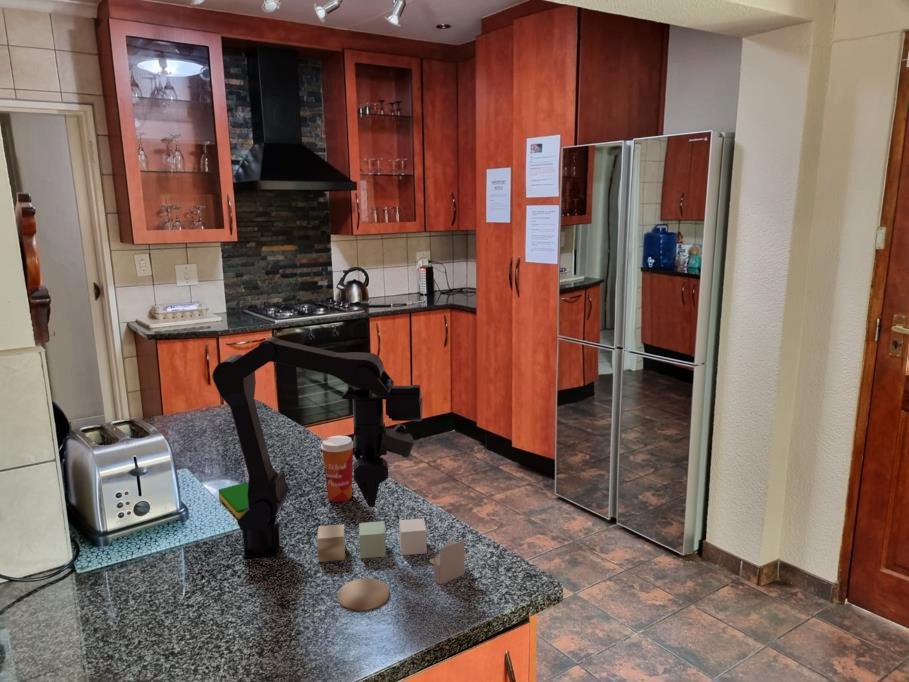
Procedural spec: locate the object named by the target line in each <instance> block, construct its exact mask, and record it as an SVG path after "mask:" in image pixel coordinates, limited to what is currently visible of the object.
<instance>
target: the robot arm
mask: <svg viewBox="0 0 909 682" xmlns="http://www.w3.org/2000/svg"><path fill="white" fill-rule="evenodd" d="M268 363H277V364H280V365H281V364H282V365H285V366H290V367H294V368H298V369H299V368H300V369H303V370H307V371H313V372H316V373H320V374H325V375H329V376H332V377H335V378H336V379H338V380H340V381H341V382H343V383H344V384H347V385H349V387H348V388H347V389H346V390H345V391H344V392H343V394H342V395H341V399H342V400H352V414H353V415H352V416H353V417H352V419H353V421H352V422H353V437H352V439H353V440H352V441H353V456H354V457H355V460H356V461H355V462H353V481H354V482H355V484H356V485H357V486H358V489H359V491H360V492H361V495H362V497H363V498H364V500H365V502H366V504H367V506H368V507H369V508H375V506H376V501H377V495H378V493H379V487H380V485H381V483H383V482H385V481H386V480H388V479H389V466H388V461H387V460H386V459H384V457H382V456H387V455H388V452H389V453H392V454H396V455H399V456H401V457H403V458H410V455H411V453H412V449H413V447H414V444H415V439H414V437H413V436H412V435H411V433H407V428H406V425H404V424H402V423H398V424H397V425H396V426H394V427H393V428H387V427H386V422H385V421H384V417H385V416H388V419H391V421H392V422H421V421H422V419H423V411H424V410H423V408H424V407H423V405H424V403H423V398H422V390H421V384H411V385H395V382H394V380H393V379H392V377H390V375H389V374H388V373H387V372H386V370H385V366H384V362H383V360H382V359H381V358H380V356H379V355H377V354H376V353H374V352H373V353H372V352H362V351H361V352H360V351H359V352H357V351H354V352H351V351H350V352H349V351H348V352H336V351H332V350H327V349H322V348H318V347H313V346H309V345H305V344H301V343H297V342H291V341H287V340H282V339H280V338H277V337H275V336H271V337H268V338H265V339H264V340H263V341H261V342H260V343H259V344H258V345H257V346H256V347H254V348H252V349H251V350H249V351H247V352H246V353H245V354H240V353H239V354H234V355H231V356H229V357H228V358H226V359H225V360H223V361H221V362H220V363H219V364H217V365H216V366H215V367H214V370H212V381H213V383H214V386H215V388H216V390H217V392H218V394H219V396H220V397H221V399H222V400H223V401H224V402H225V403H226V404H227V406H228V407H229V409H230V411H231V415H232V419H233V423H234V427H235V430H236V433H237V434H236V435H237V437H238V441H239V446H240V448H241V452H242V455H243V459H244V464H245V467H246V471H247V474H248V481H247V482H248V492H247V497H248V507H247V508H246V510H245V511H244V513H243V514H242V515H241V517H240V518H237V519H238V520H237V521H236V523H237V525H238V527H239V529H240V531H241V532H242V542H243V551H242V555H241V556H242V558H243V559H246V558H247V559H249V558H250V559H251V558H261V557H272V556H276V555H277V553H278V550H279V549H280V547H281V543H282V533H281V532H282V531H281V524H280V522H278V518H277V515H278V513H279V511H280V509H282V507H283V505H284V503H285V501H286V500H287V498H288V493H289V490H290V487H289V486H288V484H287V480H286V473H285V471H282V472H279V473H278V472H277V471H276V469H275V468H273V465H272V462H271V458H270V454H269V451H268V447H267V443H266V439H265V436H264V432H263V428H262V425H261V420H260V416H259V412H258V408H257V404H256V402H255V394H256V371H257V370H259V369H260V368H262V367H264V366H266V364H268ZM384 400H385V416H384Z"/></svg>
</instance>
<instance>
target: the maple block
mask: <svg viewBox="0 0 909 682" xmlns="http://www.w3.org/2000/svg"><path fill="white" fill-rule="evenodd" d="M317 529H318V530H317V537H316V540H317V541H316V542H317V559H318V560H317V561H318V563H322V562H333V561H345V559H346V539H345V538H346V537H345V524H344V523H343V524H330V525H319V526H318V528H317Z"/></svg>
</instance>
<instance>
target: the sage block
mask: <svg viewBox="0 0 909 682" xmlns="http://www.w3.org/2000/svg"><path fill="white" fill-rule="evenodd" d="M358 525H359V526H358V527H359V528H358V531H359V535H358V537H359V558H360V560H361V559H371V558H382V557H387V546H386V545H387V544H386V543H387V541H386V540H387V539H386V527H385V526H386V525H385V520H384V521H372V522H371V521H370V522H359V524H358Z"/></svg>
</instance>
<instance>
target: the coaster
mask: <svg viewBox="0 0 909 682" xmlns="http://www.w3.org/2000/svg"><path fill="white" fill-rule="evenodd" d="M389 598H390V588H389V586H388V585H387V584H386V583H385V582H384V581H382V580H380V579H376V578H370V577H369V578H367V577H366V578H365V577H364V578H357V579H354V580H351V581H349V582H346V583H344V585H342V586H341V587H340V588H339V590H338V592H337V601H338V604H340V605H341V606H342V607H344V608H346V609H347V610H350V611H357V612H358V611H359V612H361V611H362V612H363V611H364V612H365V611H370V610H373V609H376V608H378V607H380V606H382V605H383V604H385V603H386V602H387V601H388V599H389Z"/></svg>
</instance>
